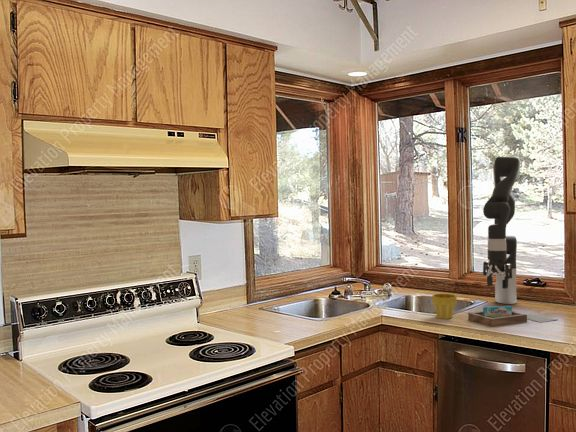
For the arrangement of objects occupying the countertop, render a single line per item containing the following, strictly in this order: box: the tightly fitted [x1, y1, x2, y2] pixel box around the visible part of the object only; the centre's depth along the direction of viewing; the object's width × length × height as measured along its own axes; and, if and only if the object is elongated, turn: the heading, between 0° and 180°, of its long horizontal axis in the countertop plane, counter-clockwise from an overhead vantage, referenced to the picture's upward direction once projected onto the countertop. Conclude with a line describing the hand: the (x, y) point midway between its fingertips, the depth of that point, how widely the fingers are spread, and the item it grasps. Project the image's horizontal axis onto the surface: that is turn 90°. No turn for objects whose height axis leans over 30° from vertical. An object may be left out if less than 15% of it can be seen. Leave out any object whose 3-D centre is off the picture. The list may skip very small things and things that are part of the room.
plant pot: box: [431, 292, 458, 320], centre depth 245 cm, size 10×10×10 cm
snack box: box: [482, 305, 513, 318], centre depth 237 cm, size 12×2×6 cm, turn 92°
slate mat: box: [526, 312, 559, 323], centre depth 240 cm, size 14×10×1 cm
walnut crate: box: [467, 310, 528, 327], centre depth 237 cm, size 14×19×3 cm
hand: (497, 287), depth 236 cm, fingers open, 8 cm apart
